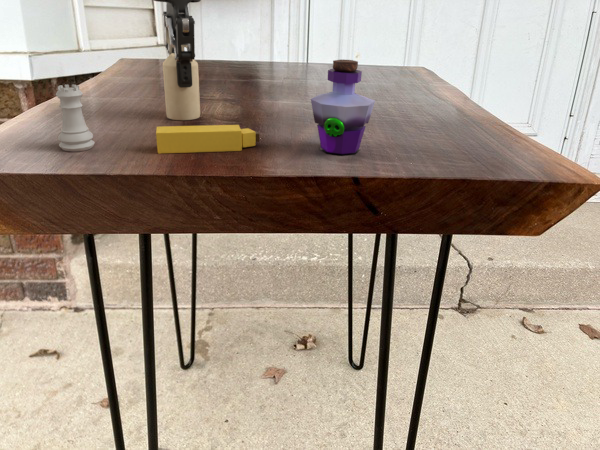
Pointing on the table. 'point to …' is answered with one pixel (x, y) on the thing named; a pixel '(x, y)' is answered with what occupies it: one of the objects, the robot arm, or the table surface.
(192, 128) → the yellow highlighter marker
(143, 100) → the table surface
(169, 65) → the candle
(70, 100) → the rook chess piece
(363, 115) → the potion bottle
